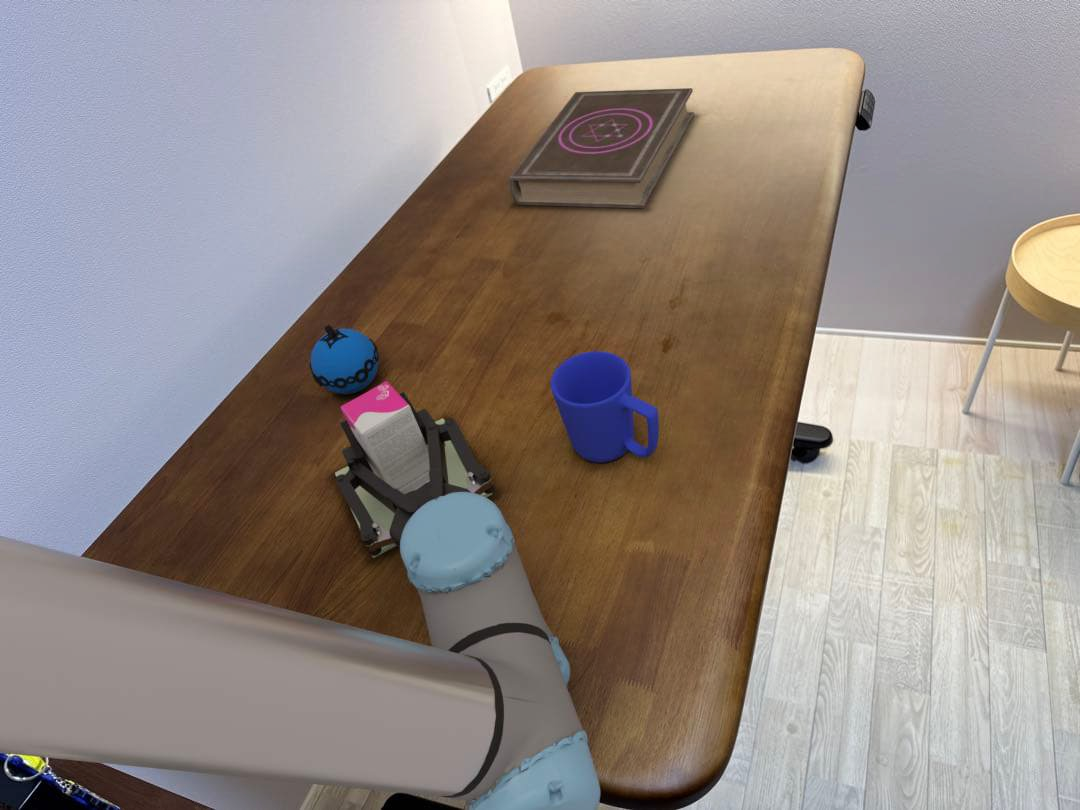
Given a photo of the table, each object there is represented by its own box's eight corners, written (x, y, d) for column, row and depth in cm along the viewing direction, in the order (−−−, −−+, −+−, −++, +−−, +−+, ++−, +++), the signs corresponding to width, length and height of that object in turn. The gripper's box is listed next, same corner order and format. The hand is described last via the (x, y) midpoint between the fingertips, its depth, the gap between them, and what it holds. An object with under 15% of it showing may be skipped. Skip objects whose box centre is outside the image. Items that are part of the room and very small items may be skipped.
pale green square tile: (373, 558, 81) (371, 555, 80) (336, 475, 90) (334, 472, 90) (492, 494, 84) (491, 490, 83) (444, 421, 93) (442, 417, 93)
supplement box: (443, 479, 85) (410, 405, 77) (397, 509, 83) (358, 436, 76) (420, 451, 89) (386, 378, 81) (375, 479, 87) (336, 407, 80)
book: (643, 208, 119) (640, 179, 115) (513, 204, 128) (506, 177, 124) (694, 115, 137) (692, 87, 134) (577, 117, 146) (572, 91, 143)
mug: (639, 499, 79) (627, 432, 72) (552, 452, 86) (533, 387, 79) (685, 448, 83) (678, 380, 76) (598, 407, 90) (585, 341, 83)
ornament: (400, 380, 101) (374, 320, 94) (345, 418, 97) (313, 358, 91) (367, 355, 106) (339, 296, 99) (313, 390, 103) (281, 331, 96)
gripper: (373, 635, 70) (309, 478, 86) (556, 532, 74) (462, 401, 90) (342, 590, 65) (280, 432, 81) (540, 482, 69) (444, 352, 85)
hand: (376, 416), depth 86 cm, fingers closed on supplement box, 6 cm apart
